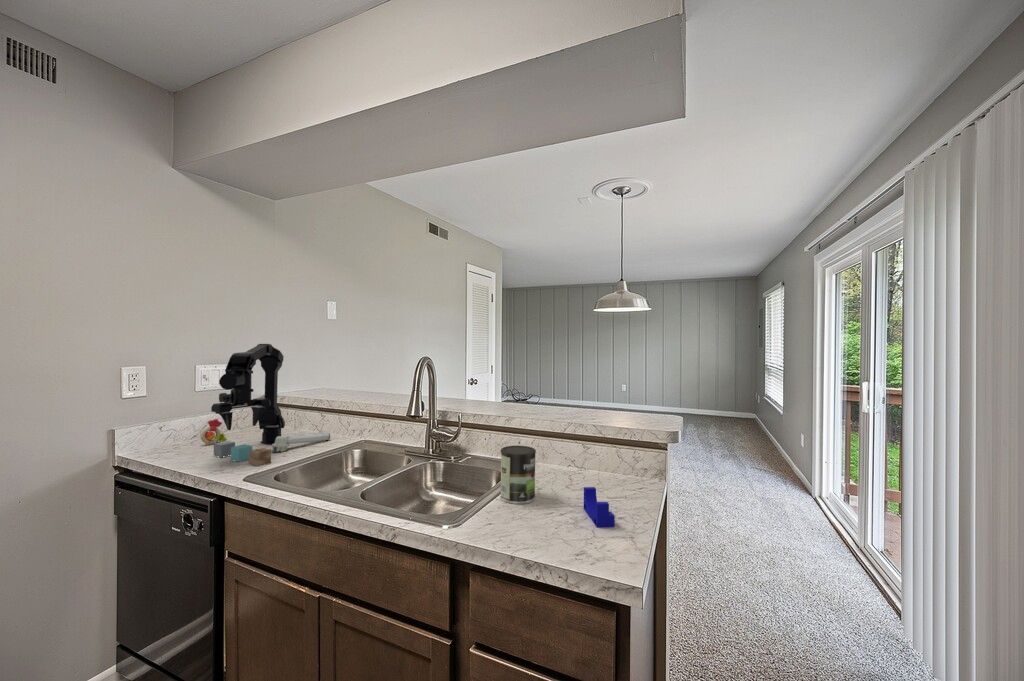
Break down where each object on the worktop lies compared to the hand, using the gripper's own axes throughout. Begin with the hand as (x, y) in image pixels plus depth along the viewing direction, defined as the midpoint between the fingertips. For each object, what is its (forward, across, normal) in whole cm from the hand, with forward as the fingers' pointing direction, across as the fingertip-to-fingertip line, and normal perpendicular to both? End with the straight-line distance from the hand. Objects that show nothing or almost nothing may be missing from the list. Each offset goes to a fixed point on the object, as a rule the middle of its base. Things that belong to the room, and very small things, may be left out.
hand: (241, 427), depth 157 cm
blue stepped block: (+12, -13, +133) cm, 134 cm away
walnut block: (+12, 0, +11) cm, 16 cm away
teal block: (+12, 0, 0) cm, 12 cm away
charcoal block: (+12, 0, -11) cm, 16 cm away
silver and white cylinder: (+12, -24, +2) cm, 27 cm away
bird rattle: (+12, -8, -33) cm, 36 cm away
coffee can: (+12, -15, +108) cm, 110 cm away
